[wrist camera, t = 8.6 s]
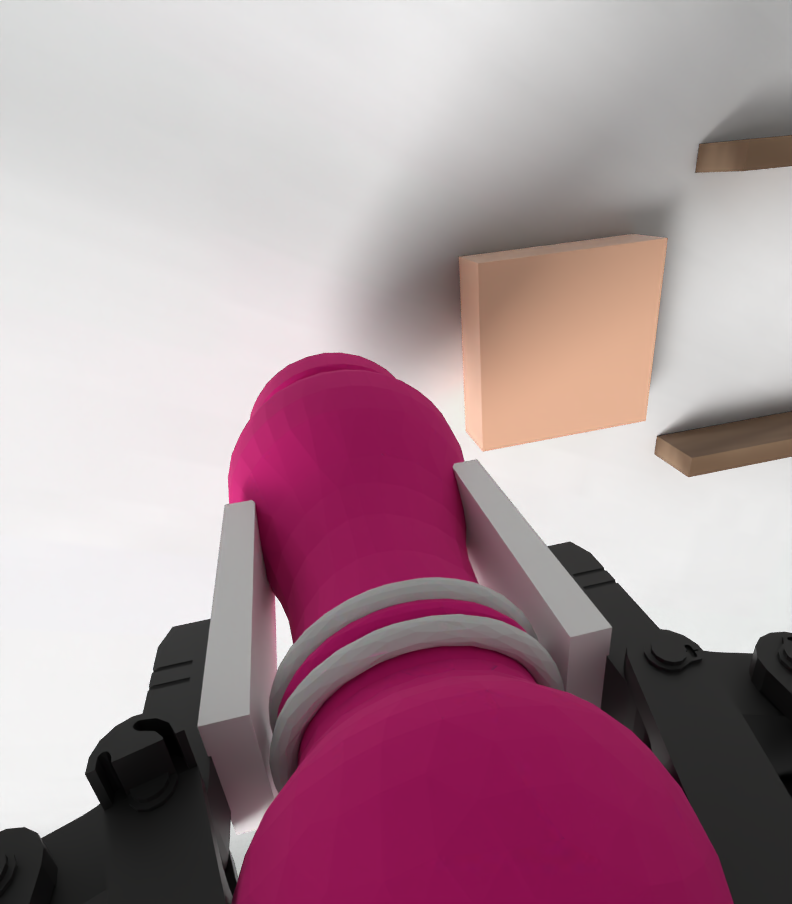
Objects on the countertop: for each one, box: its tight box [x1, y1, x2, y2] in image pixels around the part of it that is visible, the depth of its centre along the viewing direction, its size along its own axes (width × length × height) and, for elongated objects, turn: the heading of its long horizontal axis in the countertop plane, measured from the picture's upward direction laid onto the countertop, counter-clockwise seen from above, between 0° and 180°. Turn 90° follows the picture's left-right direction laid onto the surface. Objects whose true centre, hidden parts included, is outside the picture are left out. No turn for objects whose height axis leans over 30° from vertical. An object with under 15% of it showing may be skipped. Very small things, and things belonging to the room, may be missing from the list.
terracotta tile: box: [459, 234, 668, 451], centre depth 27 cm, size 9×9×3 cm
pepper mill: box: [228, 353, 734, 904], centre depth 12 cm, size 7×7×20 cm
